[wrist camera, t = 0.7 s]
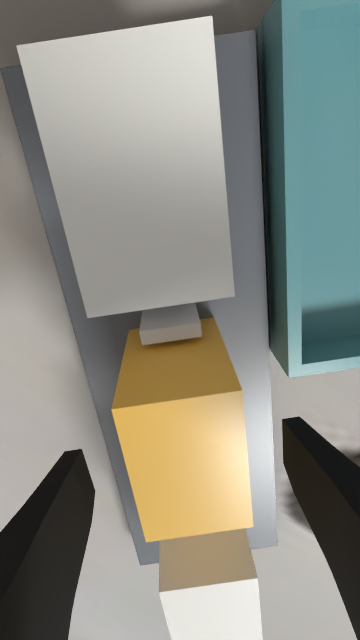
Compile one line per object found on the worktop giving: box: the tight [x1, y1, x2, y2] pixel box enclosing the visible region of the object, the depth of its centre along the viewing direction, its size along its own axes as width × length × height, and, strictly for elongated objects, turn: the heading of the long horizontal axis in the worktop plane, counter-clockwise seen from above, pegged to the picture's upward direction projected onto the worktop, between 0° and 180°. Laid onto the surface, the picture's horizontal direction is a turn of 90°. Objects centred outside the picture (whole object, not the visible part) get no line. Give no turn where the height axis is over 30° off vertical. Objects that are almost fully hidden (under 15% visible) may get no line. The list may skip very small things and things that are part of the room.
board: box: [0, 30, 278, 565], centre depth 16 cm, size 9×27×4 cm, turn 8°
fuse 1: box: [16, 16, 235, 318], centre depth 11 cm, size 4×6×6 cm, turn 8°
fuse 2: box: [159, 528, 263, 640], centre depth 18 cm, size 4×6×6 cm, turn 8°
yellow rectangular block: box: [111, 317, 254, 542], centre depth 14 cm, size 4×6×6 cm, turn 8°
